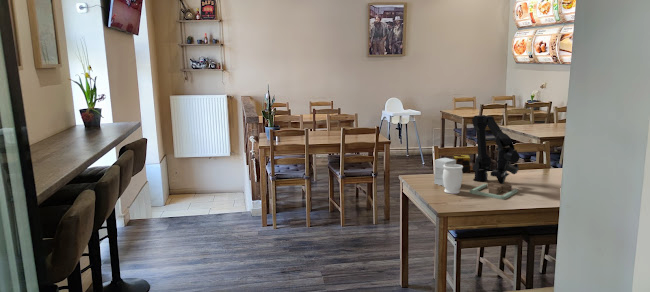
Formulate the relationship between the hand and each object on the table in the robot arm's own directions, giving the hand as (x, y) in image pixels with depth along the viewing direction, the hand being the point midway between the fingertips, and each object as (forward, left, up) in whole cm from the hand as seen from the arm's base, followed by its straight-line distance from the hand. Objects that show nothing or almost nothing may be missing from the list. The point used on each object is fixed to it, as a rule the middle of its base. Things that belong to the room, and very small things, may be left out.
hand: (501, 186), depth 270 cm
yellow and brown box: (-37, +25, -2) cm, 45 cm away
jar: (-18, -24, -2) cm, 30 cm away
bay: (0, -10, -2) cm, 11 cm away
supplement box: (-29, -12, -2) cm, 32 cm away
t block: (0, -7, -2) cm, 7 cm away
